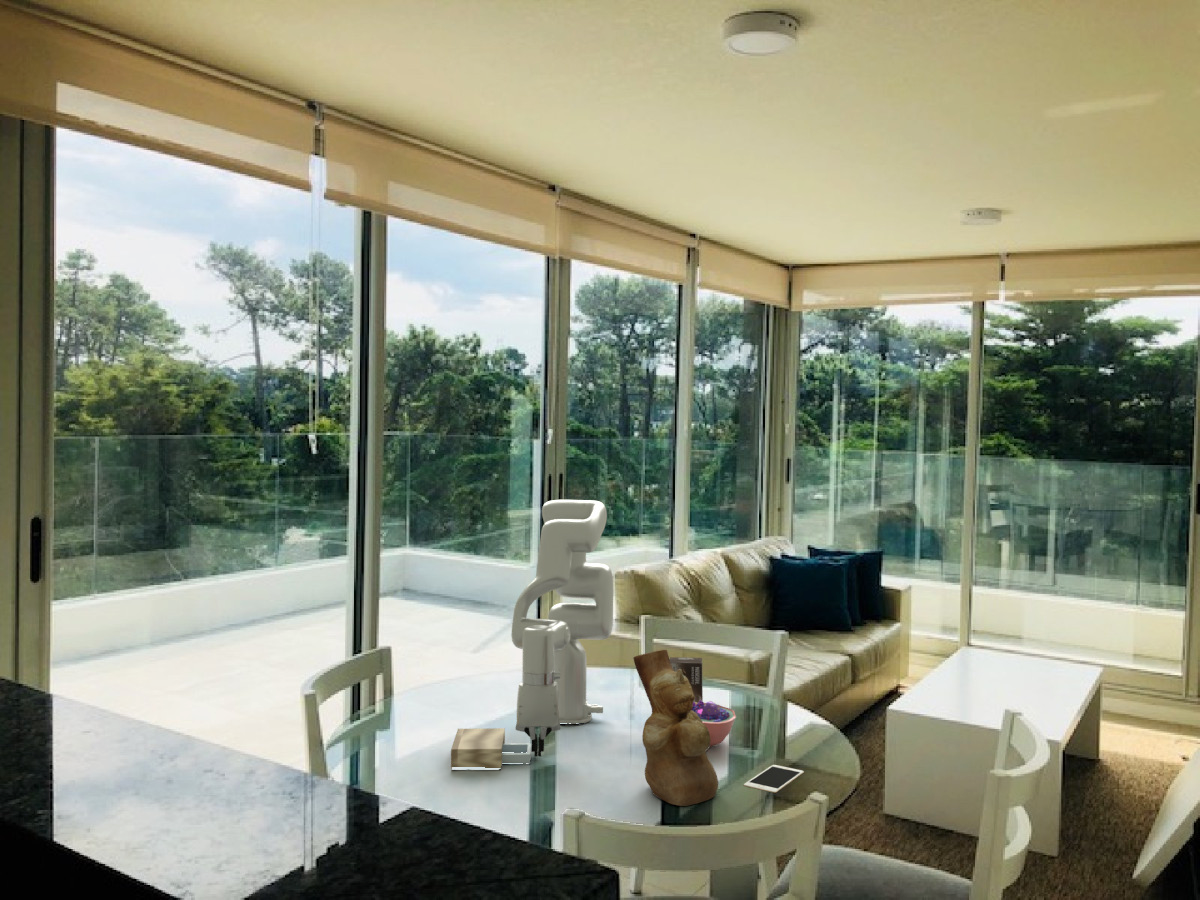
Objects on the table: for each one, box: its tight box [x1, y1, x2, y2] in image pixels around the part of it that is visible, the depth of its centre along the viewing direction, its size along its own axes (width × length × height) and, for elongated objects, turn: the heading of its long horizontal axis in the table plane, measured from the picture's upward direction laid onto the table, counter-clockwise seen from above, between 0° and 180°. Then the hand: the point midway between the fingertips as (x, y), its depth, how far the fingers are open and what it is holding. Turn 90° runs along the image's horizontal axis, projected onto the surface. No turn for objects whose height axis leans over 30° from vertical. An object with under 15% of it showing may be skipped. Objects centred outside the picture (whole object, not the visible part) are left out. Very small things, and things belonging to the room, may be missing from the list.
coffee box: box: [669, 656, 704, 703], centre depth 268 cm, size 9×6×16 cm
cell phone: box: [743, 764, 805, 794], centre depth 222 cm, size 8×16×1 cm, turn 146°
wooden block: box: [450, 727, 506, 768], centre depth 234 cm, size 12×16×5 cm
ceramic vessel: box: [632, 648, 719, 807], centre depth 214 cm, size 16×22×30 cm
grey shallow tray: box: [502, 742, 532, 764], centre depth 234 cm, size 14×8×2 cm, turn 93°
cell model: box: [691, 700, 737, 748], centre depth 246 cm, size 17×20×11 cm
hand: (537, 754), depth 234 cm, fingers closed
